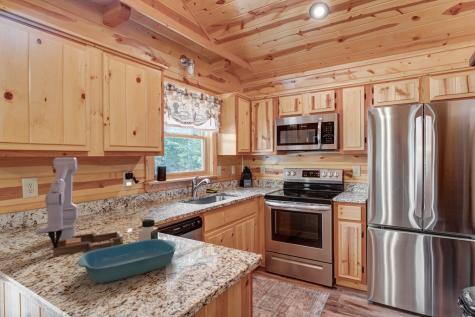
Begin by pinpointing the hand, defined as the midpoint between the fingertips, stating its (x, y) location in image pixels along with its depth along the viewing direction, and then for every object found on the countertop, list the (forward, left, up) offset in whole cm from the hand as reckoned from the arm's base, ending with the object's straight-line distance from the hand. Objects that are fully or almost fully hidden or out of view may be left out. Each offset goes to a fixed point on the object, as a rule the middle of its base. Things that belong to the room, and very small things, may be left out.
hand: (55, 247), depth 121 cm
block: (0, +7, -2) cm, 8 cm away
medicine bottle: (+13, +39, -2) cm, 41 cm away
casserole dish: (+39, +25, -2) cm, 46 cm away
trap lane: (0, +13, -2) cm, 13 cm away
